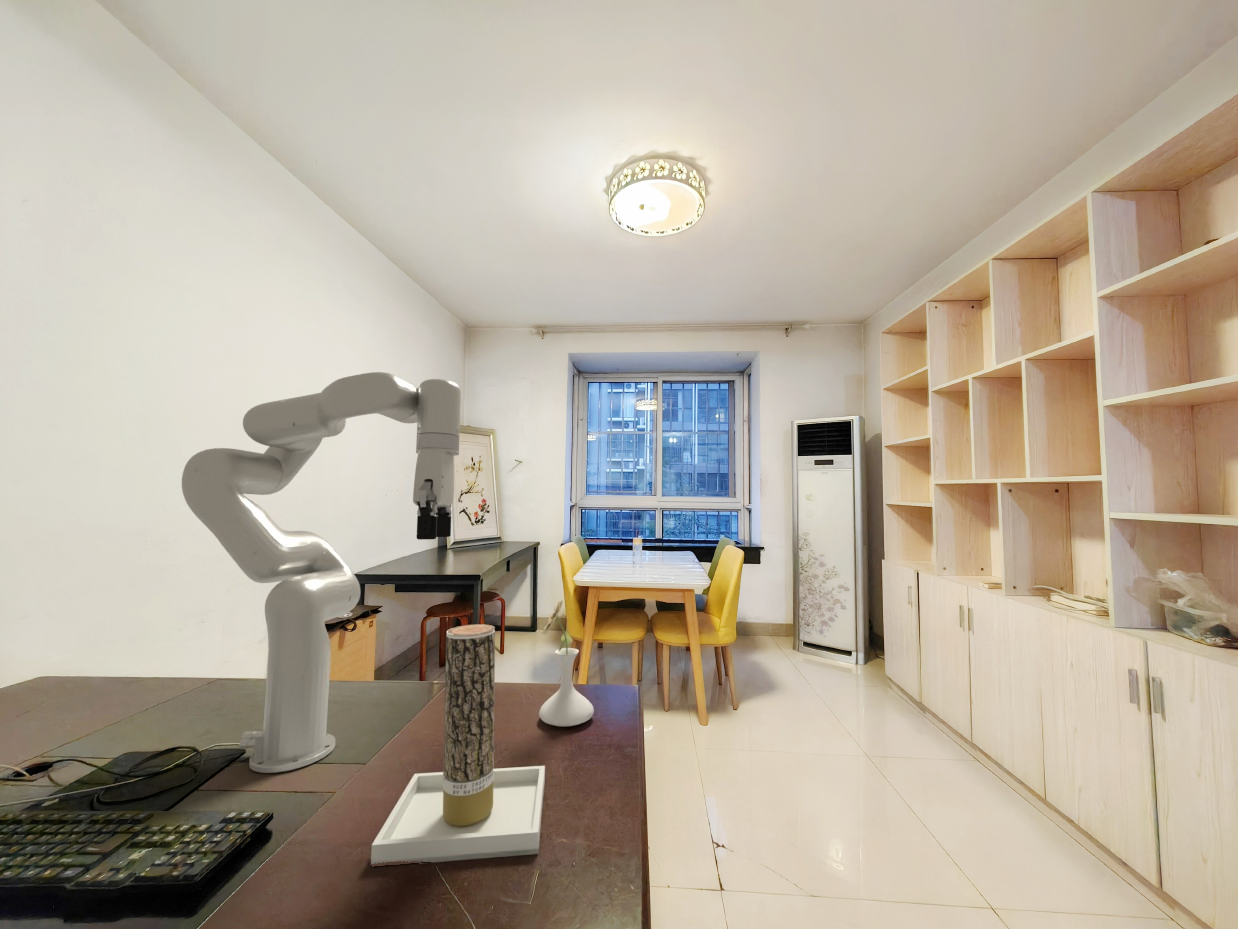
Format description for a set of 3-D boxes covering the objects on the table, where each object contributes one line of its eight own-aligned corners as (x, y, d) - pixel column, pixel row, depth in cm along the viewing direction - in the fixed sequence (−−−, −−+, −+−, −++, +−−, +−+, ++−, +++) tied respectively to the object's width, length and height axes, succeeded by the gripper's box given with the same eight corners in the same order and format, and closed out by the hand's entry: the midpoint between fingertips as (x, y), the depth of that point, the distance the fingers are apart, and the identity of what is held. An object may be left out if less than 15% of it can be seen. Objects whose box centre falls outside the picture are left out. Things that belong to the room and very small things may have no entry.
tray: (370, 867, 57) (371, 845, 57) (413, 791, 73) (414, 773, 73) (538, 853, 59) (538, 832, 59) (544, 782, 75) (544, 765, 75)
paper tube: (503, 805, 67) (504, 626, 70) (469, 835, 61) (472, 637, 64) (467, 794, 70) (469, 622, 73) (431, 821, 64) (435, 633, 67)
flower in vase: (553, 706, 105) (554, 591, 107) (601, 712, 101) (601, 593, 104) (524, 732, 92) (526, 601, 95) (578, 740, 89) (578, 604, 92)
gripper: (430, 452, 96) (427, 536, 95) (400, 438, 79) (396, 540, 78) (468, 452, 97) (465, 536, 95) (446, 438, 80) (442, 540, 78)
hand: (434, 538), depth 86 cm, fingers open, 9 cm apart
